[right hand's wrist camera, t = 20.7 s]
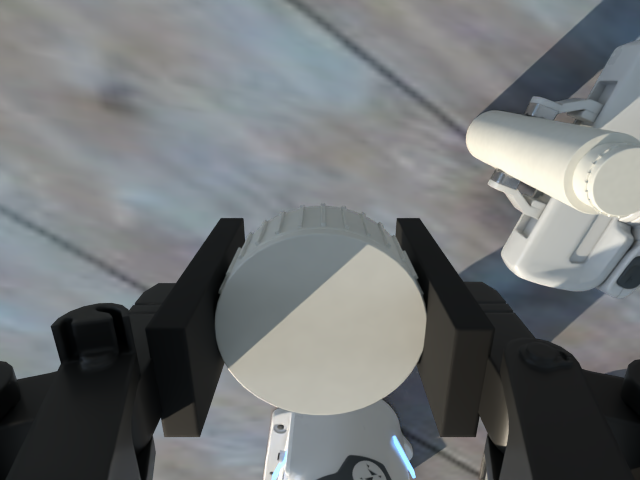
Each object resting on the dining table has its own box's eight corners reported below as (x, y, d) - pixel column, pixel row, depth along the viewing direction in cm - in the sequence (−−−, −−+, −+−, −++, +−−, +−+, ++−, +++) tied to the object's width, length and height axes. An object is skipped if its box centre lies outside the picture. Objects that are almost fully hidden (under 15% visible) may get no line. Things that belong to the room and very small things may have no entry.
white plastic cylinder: (464, 115, 39) (584, 145, 21) (516, 105, 39) (681, 129, 21) (467, 164, 41) (580, 231, 23) (516, 156, 41) (669, 217, 23)
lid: (449, 298, 12) (474, 342, 10) (312, 393, 14) (310, 448, 12) (332, 161, 11) (334, 181, 9) (191, 282, 12) (165, 323, 10)
